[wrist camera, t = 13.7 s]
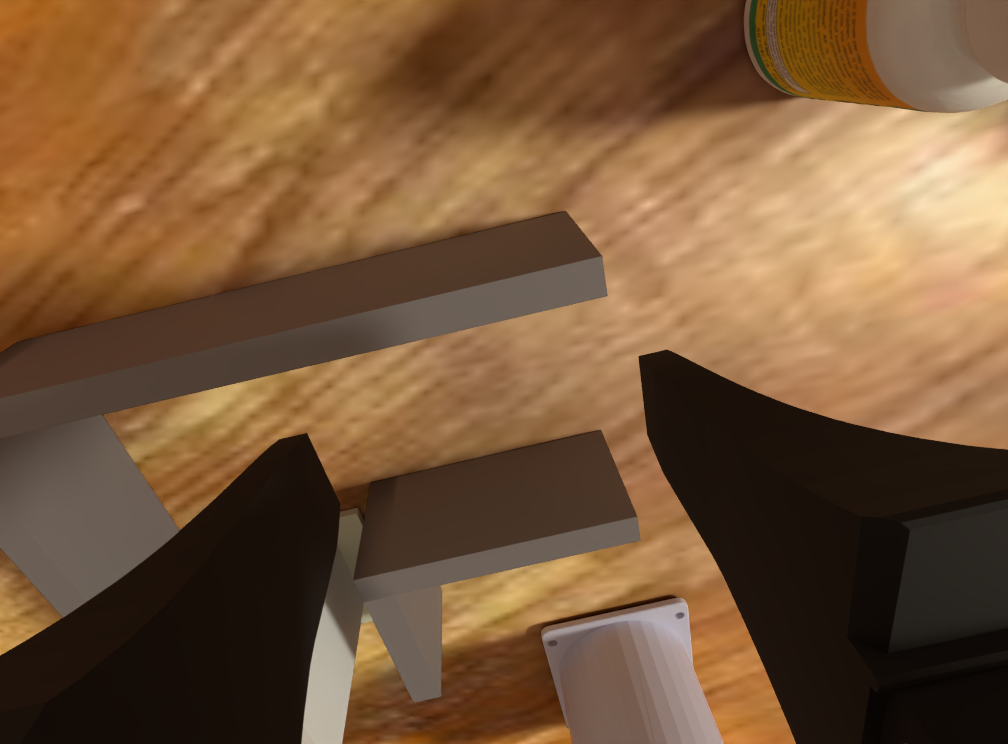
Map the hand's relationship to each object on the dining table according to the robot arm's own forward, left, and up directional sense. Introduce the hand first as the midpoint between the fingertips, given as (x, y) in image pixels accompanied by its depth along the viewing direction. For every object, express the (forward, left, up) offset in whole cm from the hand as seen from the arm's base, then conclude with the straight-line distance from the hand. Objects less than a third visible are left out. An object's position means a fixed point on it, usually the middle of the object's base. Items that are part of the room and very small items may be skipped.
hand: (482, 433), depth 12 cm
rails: (-7, +6, -10) cm, 14 cm away
